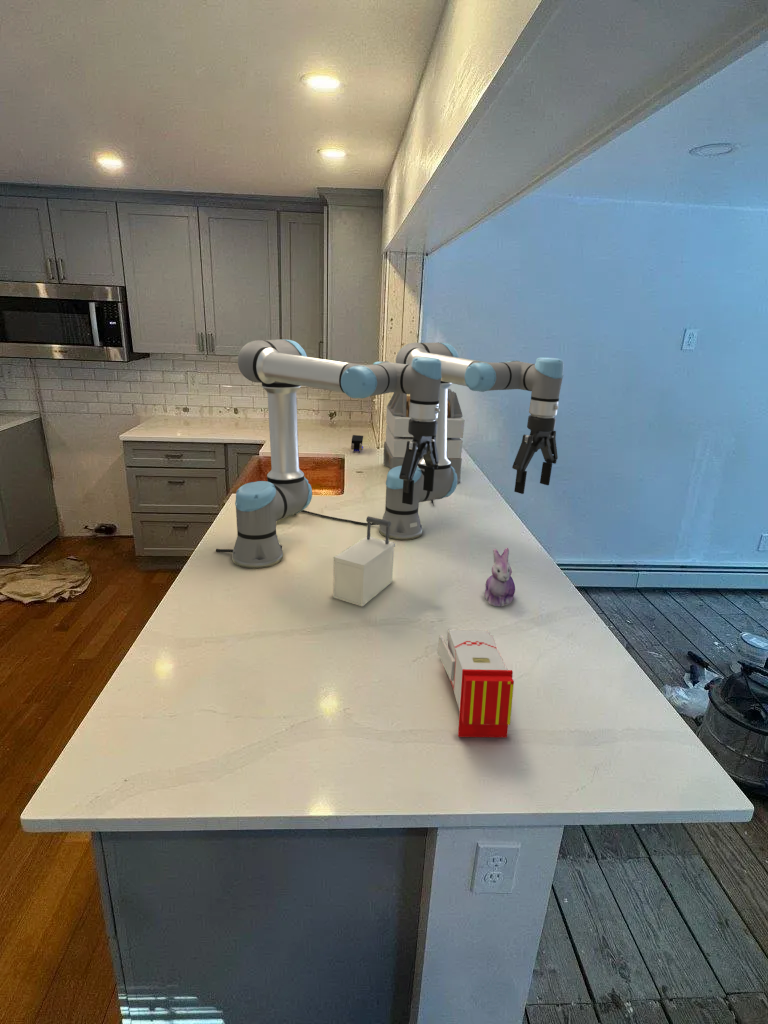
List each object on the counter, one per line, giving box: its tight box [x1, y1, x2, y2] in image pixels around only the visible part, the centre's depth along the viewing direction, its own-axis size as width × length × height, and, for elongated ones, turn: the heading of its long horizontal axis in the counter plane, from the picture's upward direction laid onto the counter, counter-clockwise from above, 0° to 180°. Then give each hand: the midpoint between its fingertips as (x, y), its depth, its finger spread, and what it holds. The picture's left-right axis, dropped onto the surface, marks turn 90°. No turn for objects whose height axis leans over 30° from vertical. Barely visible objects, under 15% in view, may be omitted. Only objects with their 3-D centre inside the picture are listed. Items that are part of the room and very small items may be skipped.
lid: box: [333, 516, 396, 569], centre depth 155 cm, size 18×9×8 cm, turn 152°
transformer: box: [383, 388, 465, 484], centre depth 268 cm, size 34×33×41 cm
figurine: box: [484, 547, 516, 607], centre depth 155 cm, size 9×10×15 cm
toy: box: [437, 628, 515, 738], centre depth 117 cm, size 12×13×30 cm
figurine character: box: [350, 434, 364, 454], centre depth 311 cm, size 7×8×15 cm
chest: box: [332, 547, 395, 607], centre depth 158 cm, size 17×9×11 cm, turn 152°
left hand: (418, 496), depth 154 cm, fingers open, 13 cm apart
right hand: (532, 488), depth 165 cm, fingers open, 13 cm apart
